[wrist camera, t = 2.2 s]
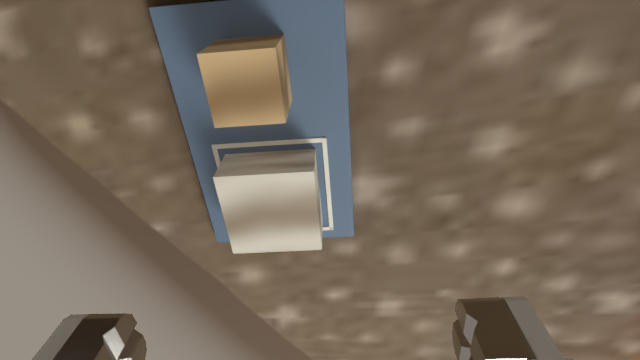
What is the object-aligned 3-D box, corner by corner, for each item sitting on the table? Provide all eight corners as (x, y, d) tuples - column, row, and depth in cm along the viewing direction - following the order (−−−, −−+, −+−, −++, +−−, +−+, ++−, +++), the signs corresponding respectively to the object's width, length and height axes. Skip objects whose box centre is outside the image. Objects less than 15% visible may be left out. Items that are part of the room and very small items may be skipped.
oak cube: (217, 39, 27) (196, 54, 23) (284, 33, 27) (275, 47, 22) (231, 103, 30) (214, 127, 25) (292, 99, 29) (285, 123, 25)
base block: (225, 154, 32) (212, 177, 29) (315, 148, 32) (313, 171, 28) (242, 225, 36) (233, 253, 33) (322, 221, 36) (321, 249, 32)
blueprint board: (154, 6, 27) (147, 7, 26) (343, -11, 26) (343, -10, 25) (220, 236, 38) (217, 243, 37) (353, 229, 37) (354, 236, 36)
